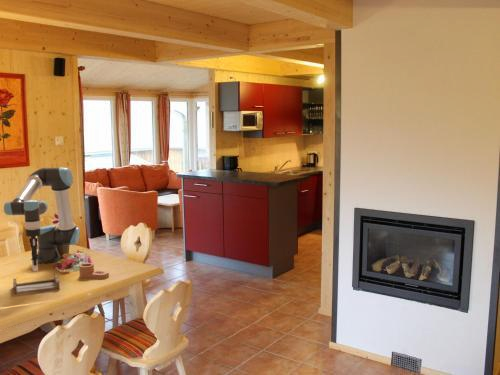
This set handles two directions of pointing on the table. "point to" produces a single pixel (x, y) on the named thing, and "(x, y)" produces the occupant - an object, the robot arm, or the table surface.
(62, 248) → the flowerpot
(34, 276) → the table surface
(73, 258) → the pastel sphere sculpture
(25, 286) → the wooden window with sill
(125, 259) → the table surface
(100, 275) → the bracket
